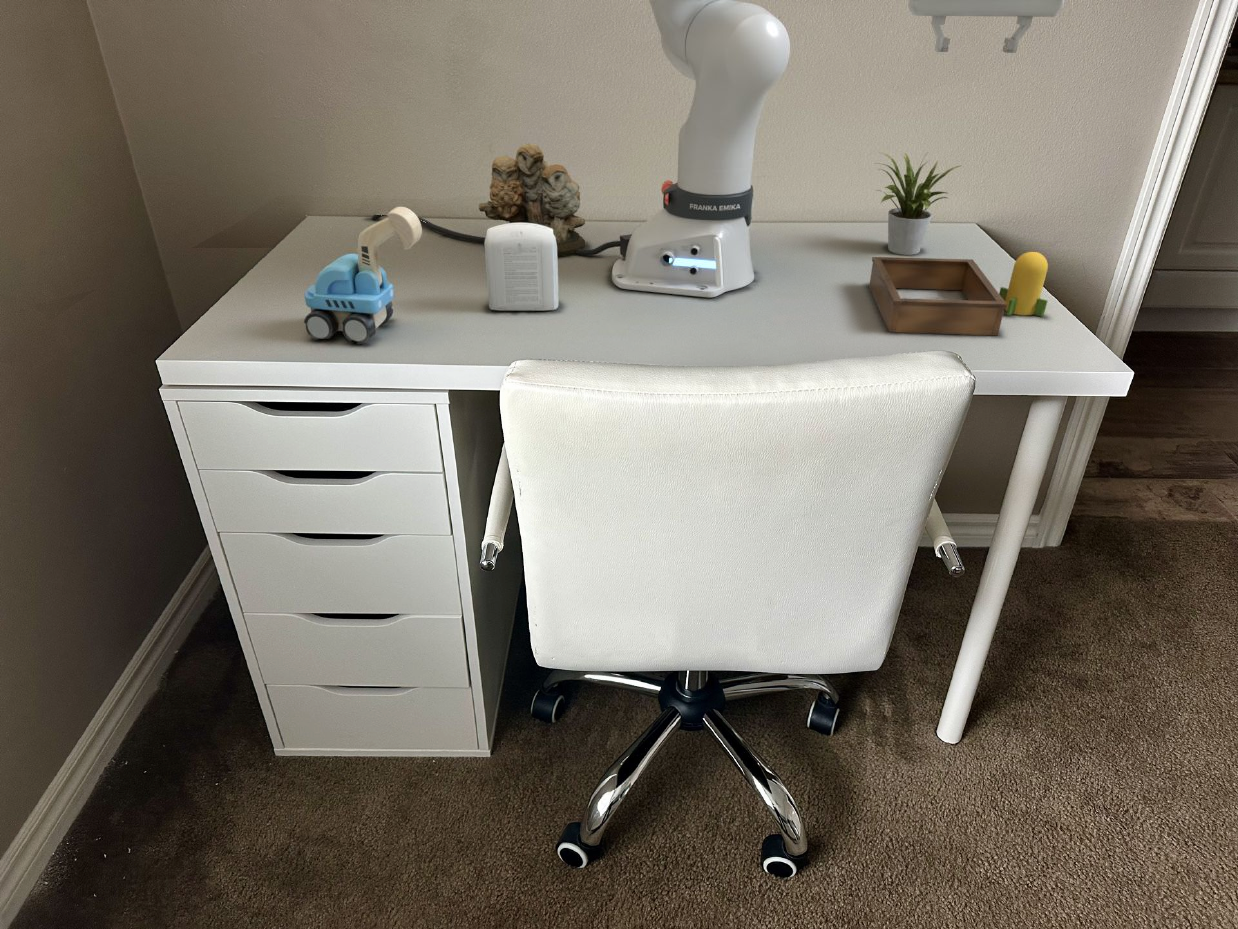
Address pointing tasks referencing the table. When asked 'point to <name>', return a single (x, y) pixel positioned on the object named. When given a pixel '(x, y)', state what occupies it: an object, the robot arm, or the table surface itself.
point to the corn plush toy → (1026, 286)
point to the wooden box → (933, 314)
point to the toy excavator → (359, 283)
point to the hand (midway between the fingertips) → (975, 52)
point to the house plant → (910, 209)
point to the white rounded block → (521, 267)
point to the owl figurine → (536, 196)
